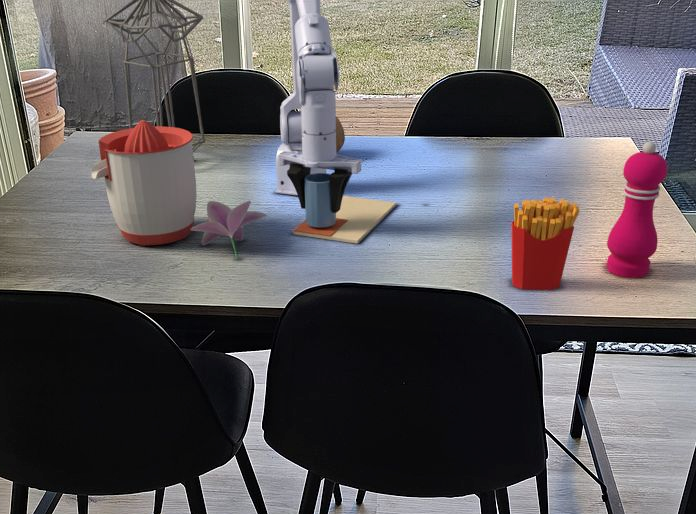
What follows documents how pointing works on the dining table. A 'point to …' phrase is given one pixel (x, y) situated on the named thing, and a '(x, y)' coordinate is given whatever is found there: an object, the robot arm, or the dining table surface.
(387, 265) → the dining table surface
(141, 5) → the geometric lantern
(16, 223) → the dining table surface
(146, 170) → the citrus juicer
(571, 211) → the french fries
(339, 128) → the onion
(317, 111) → the robot arm
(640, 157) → the pepper mill
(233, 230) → the lily
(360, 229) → the cutting board
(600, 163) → the dining table surface
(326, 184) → the tumbler
